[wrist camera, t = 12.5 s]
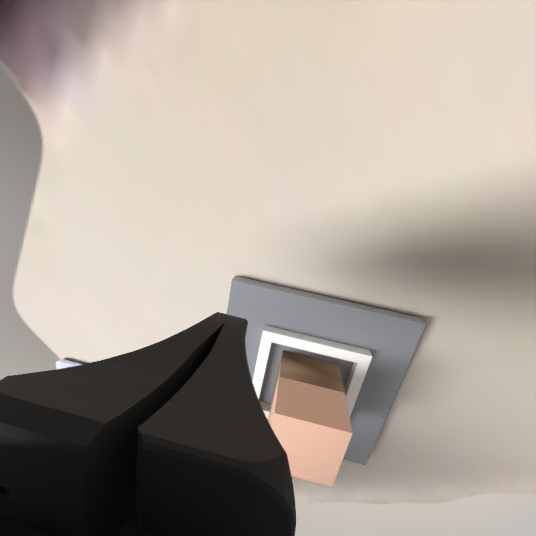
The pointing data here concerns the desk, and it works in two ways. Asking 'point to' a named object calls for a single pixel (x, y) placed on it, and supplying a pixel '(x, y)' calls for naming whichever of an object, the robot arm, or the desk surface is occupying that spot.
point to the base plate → (328, 348)
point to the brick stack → (311, 416)
